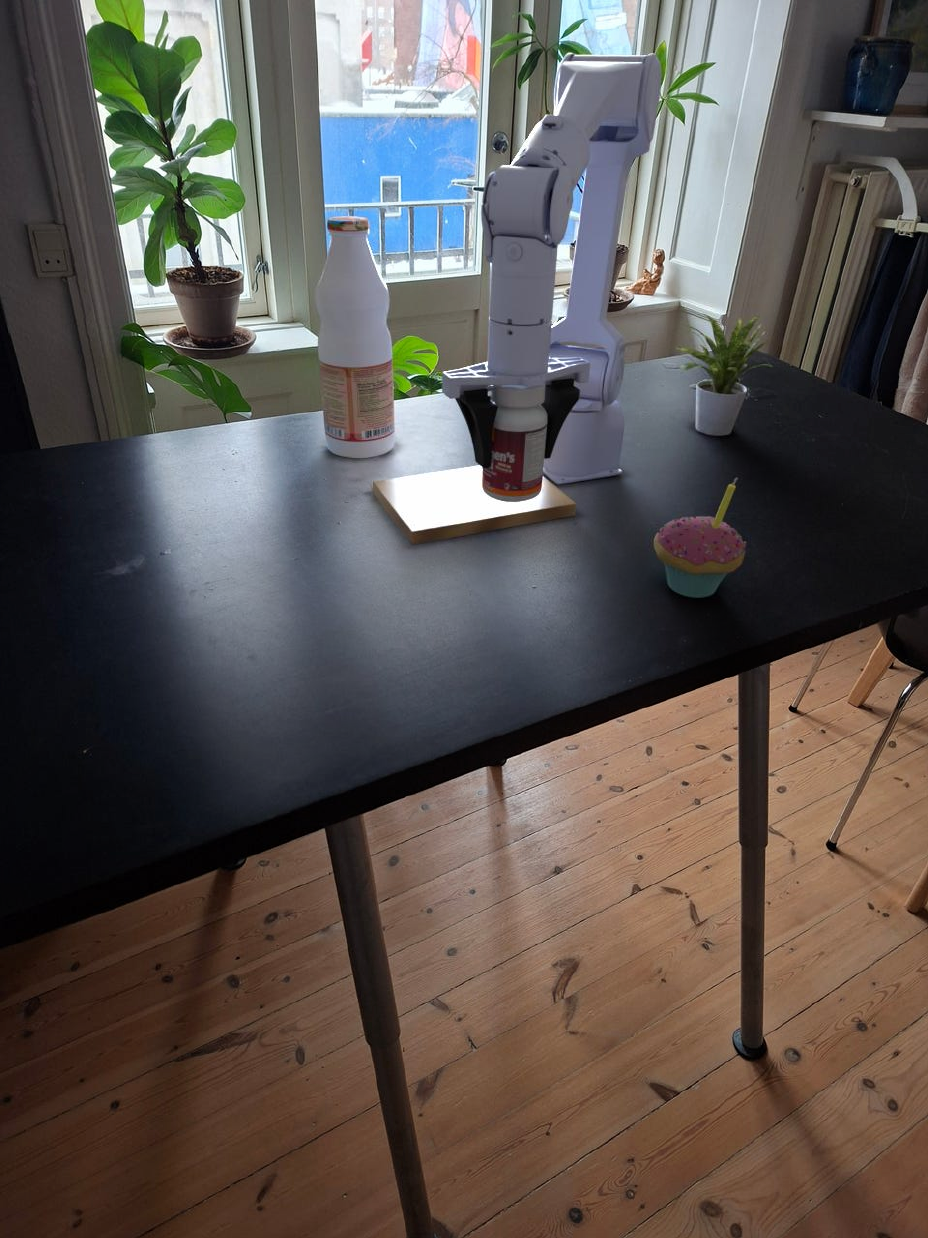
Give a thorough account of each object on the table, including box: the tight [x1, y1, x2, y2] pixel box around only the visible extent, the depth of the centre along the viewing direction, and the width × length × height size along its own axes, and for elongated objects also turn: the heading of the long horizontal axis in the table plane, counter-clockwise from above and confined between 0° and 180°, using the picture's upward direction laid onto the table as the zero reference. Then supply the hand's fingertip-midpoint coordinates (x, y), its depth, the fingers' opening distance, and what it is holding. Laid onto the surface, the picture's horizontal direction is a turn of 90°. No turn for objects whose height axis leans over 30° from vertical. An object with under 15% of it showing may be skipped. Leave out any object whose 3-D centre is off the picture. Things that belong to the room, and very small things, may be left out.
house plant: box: [674, 312, 775, 436], centre depth 114 cm, size 14×14×16 cm
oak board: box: [372, 465, 577, 546], centre depth 94 cm, size 20×14×2 cm
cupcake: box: [653, 477, 747, 599], centre depth 77 cm, size 9×8×12 cm
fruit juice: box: [314, 215, 396, 459], centre depth 102 cm, size 9×9×28 cm
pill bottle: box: [482, 385, 547, 502], centre depth 79 cm, size 6×6×11 cm
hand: (512, 459), depth 80 cm, fingers closed on pill bottle, 6 cm apart
